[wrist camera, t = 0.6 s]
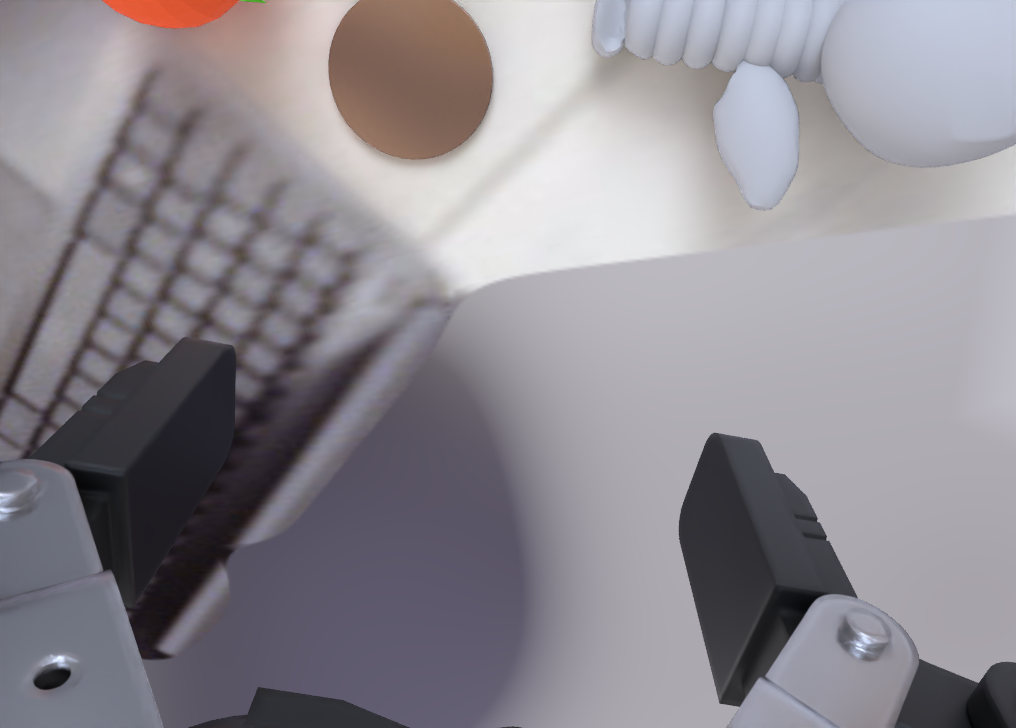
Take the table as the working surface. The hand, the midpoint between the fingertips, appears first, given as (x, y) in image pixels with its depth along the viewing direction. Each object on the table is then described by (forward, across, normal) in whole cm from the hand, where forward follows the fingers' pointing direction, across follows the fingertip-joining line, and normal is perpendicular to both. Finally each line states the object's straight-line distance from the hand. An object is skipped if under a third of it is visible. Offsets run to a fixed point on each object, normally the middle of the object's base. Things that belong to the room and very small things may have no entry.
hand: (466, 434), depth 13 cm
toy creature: (+24, -12, -7) cm, 28 cm away
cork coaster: (+24, +5, -2) cm, 24 cm away
